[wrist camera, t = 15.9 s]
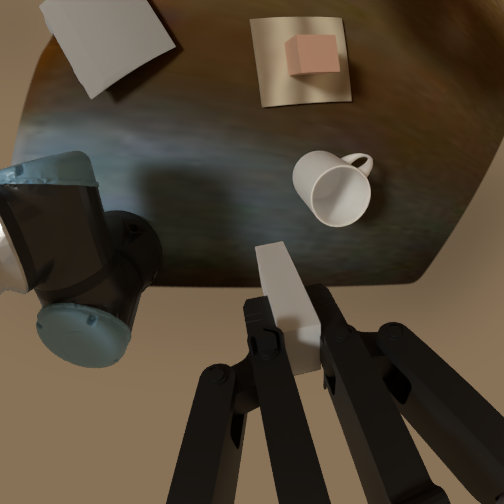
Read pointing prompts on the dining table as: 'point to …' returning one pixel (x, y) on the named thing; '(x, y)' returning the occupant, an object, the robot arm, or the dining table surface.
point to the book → (105, 37)
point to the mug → (333, 186)
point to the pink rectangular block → (312, 54)
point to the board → (276, 70)
